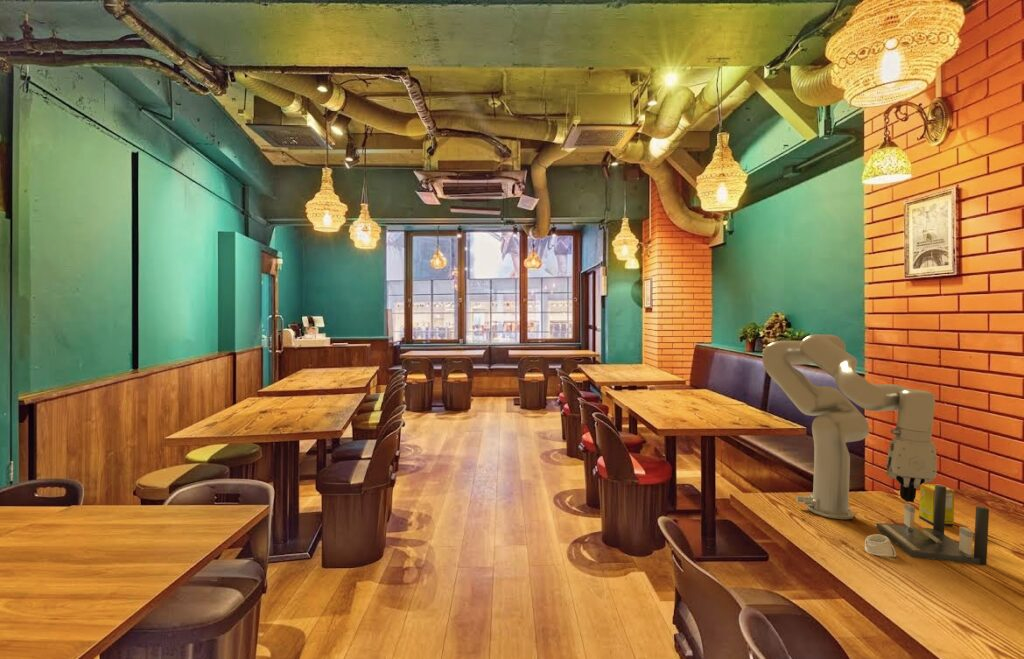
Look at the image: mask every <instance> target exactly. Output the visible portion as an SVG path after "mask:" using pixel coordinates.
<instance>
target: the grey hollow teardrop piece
mask: <svg viewBox="0 0 1024 659" xmlns="http://www.w3.org/2000/svg"><path fill="white" fill-rule="evenodd" d="M864 550H865V551H866V552H867V553H868V554H870V555H873V556H880V557H884V558H886V557H887V558H889V557H891V558H895V557H897V551H896V549H895V547H894V546H893V544H892V542H891V540H890V539H889V538H888V537H887V536H885V535H884V534H879V533H875V534H870V535H868V536H867V537H866V538H865V541H864Z"/></svg>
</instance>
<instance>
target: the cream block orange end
mask: <svg viewBox="0 0 1024 659" xmlns="http://www.w3.org/2000/svg"><path fill="white" fill-rule="evenodd" d="M911 525H913V526H914V527H915V528H917V529H918V530H920V531H921V532H923V533H924V534H925V535H927V536H928V537H930V538H931V539H932V540H934V541H935V542H937V543H938V541H939V539H938V538H936V537H935V536H933V535H932V534H931V533H929V532H928V531H926V530H925V529H924V528H925V527H924V526H921V525H920V524H919V523H917V522H915V520H914V521H913V522H912V523H911Z"/></svg>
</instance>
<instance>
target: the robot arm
mask: <svg viewBox="0 0 1024 659" xmlns="http://www.w3.org/2000/svg"><path fill="white" fill-rule="evenodd" d="M846 350H847V347H846V344H845V342H844V340H843V339H842V338H840V337H839V336H837V335H835V334H811V335H810V334H809V335H808V336H806V337H804V338H803V339H802V340H777V341H772V342H771V343H768V344H767V345H765V347H764V349H763V352H762V363H763V364H762V365H763V367H764V369H765V371H766V373H767V374H768V376H769V378H771V379H772V380H773V381H774V383H775V384H776V385H777V386H779V387H780V389H781V390H782V391H783V393H784V394H785V395H786V396H787V398H788V399H789V400H790V401H791V403H793V404H794V406H795V407H796V408H797V409H798V410H799V411H800V412H801V414H804V416H812V417H813V416H815V418H814V419H813V421H812V423H811V434H812V440H813V446H814V447H813V448H814V450H813V451H814V452H813V455H814V458H813V462H814V463H813V487H812V488H813V490H812V493H811V492H810V493H809V495H806V496H803V495H796V497H795V500H796V502H797V503H802V504H803V505H806V509H808V511H810V512H811V513H814V514H815V515H818V516H821V517H824V518H825V517H826V518H828V519H835V520H850V519H851V520H852V519H853V518H854V517H855V512H854V511H853V510H852V509H851V508H850V507H849V503H850V502H849V497H850V476H851V475H850V474H851V473H850V472H851V471H850V470H851V457H850V456H851V455H850V452H849V449H848V447H847V443H851V442H852V443H853V442H859V441H863V440H864V439H866V437H867V436H869V433H870V425H869V422H868V420H867V418H866V417H865V416H864V415H863V414H862V412H860V411H859V408H857V407H856V406H855V405H857V406H858V407H860V408H862V409H863V410H866V411H868V412H869V411H870V412H887V411H888V412H889V411H890V412H891V411H893V412H894V411H895V412H896V411H897V419H896V426H895V428H891V429H890V434H891V435H895V436H893V437H892V438H891V441H890V444H889V447H888V448H889V449H888V453H887V457H886V458H887V459H886V470H887V471H886V474H885V475H886V477H888V478H890V479H894V480H896V481H897V483H899V485H900V487H899V488H900V490H899V496H900V498H901V499H902V500H903V501H905V502H906V503H915V499H916V496H917V489H920V485H921V484H925V483H931V482H933V481H934V479H935V478H936V477H937V471H938V470H937V468H938V466H937V465H938V462H937V460H938V459H937V449H936V444H935V442H933V441H932V436H933V435H932V434H933V427H934V426H933V425H934V424H933V423H934V414H935V406H936V396H935V394H933V392H930V391H927V390H923V389H913V388H908V387H905V386H902V385H899V384H893V383H889V384H888V383H887V384H885V383H883V384H882V383H881V384H880V383H879V384H873V383H871V382H869V381H868V380H866V379H865V378H864V377H862V376H861V375H859V374H858V373H857V371H856V369H857V367H858V359H856V357H855V356H854V355H852V354H850V353H849V352H847V351H846ZM809 364H814V365H816V366H817V367H819V368H820V369H821V370H823V371H824V372H825V373H827V374H828V375H830V376H831V377H832V378H833V379H834V382H835V385H836V386H837V388H838V389H839V390H838V389H837V388H835V387H831V386H826V385H825V386H817V385H815V384H814V383H812V382H811V381H810V380H809V379H808V378H807V376H806V375H805V374H804V373H803V372H801V371H800V370H799V369H797V368H795V367H794V366H795V365H796V366H797V365H800V366H801V365H809ZM792 365H794V366H792ZM851 401H852V402H853V403H854V404H855V405H854V404H853V403H852V402H851Z"/></svg>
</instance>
